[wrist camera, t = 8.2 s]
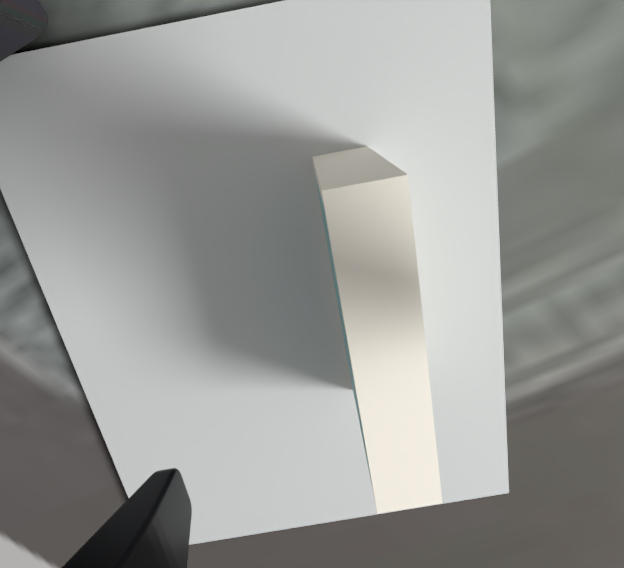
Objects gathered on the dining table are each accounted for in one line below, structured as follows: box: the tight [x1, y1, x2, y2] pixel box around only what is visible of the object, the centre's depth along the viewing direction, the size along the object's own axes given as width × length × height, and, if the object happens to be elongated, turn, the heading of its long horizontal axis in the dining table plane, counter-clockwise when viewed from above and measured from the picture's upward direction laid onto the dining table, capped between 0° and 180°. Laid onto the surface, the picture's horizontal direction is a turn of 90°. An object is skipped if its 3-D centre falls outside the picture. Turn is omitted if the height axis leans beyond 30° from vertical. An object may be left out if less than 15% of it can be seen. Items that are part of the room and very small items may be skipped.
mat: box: [0, 0, 509, 545], centre depth 18 cm, size 20×16×1 cm
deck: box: [312, 146, 442, 514], centre depth 14 cm, size 9×2×6 cm, turn 11°
